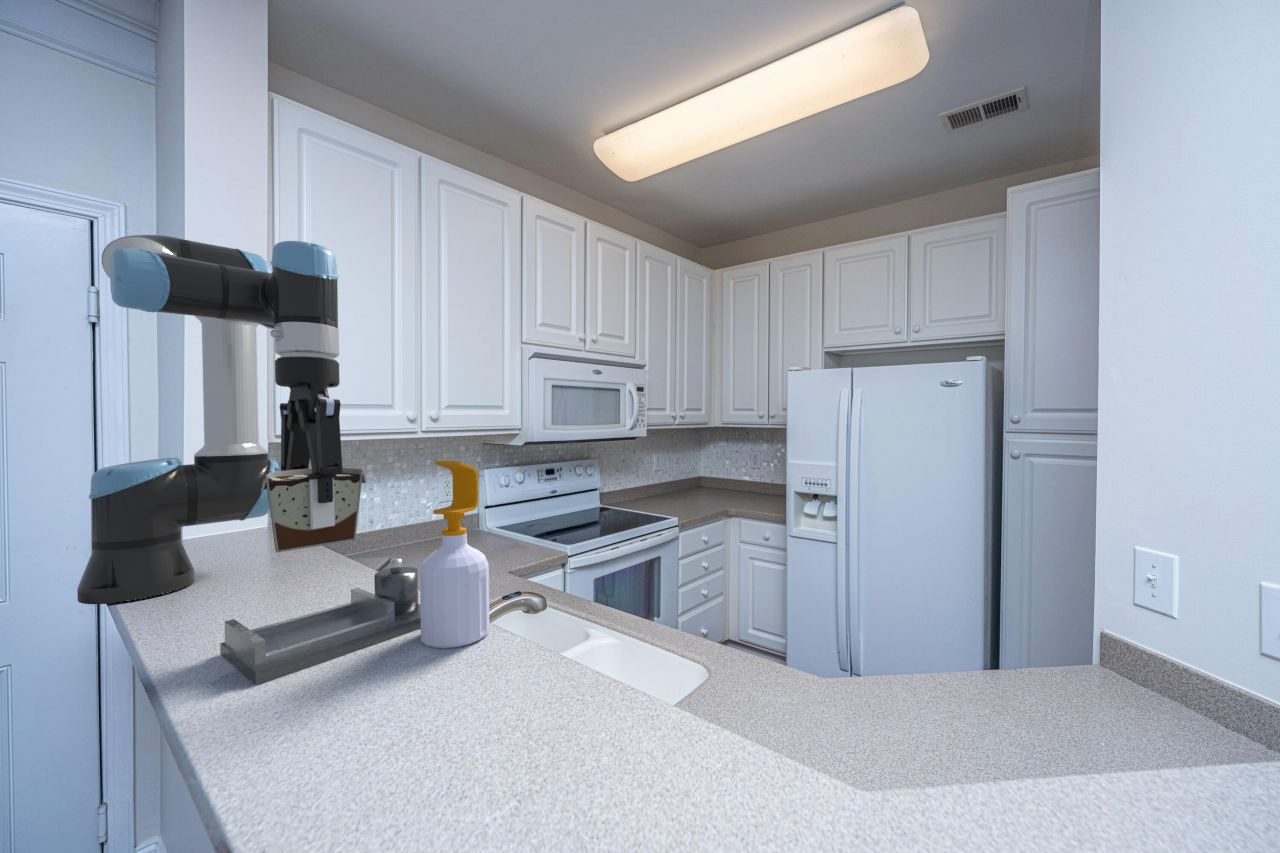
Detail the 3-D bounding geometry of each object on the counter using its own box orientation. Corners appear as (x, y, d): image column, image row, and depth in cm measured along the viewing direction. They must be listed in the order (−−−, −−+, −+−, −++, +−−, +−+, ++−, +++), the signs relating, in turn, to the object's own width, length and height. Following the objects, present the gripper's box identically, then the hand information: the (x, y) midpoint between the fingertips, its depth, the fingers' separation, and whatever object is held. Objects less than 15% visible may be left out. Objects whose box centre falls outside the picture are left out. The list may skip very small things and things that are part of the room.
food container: (352, 531, 79) (352, 465, 79) (366, 538, 75) (366, 469, 74) (252, 545, 70) (251, 471, 70) (262, 554, 66) (261, 476, 65)
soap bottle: (405, 645, 70) (403, 462, 69) (449, 620, 78) (447, 457, 78) (463, 653, 67) (460, 463, 67) (501, 626, 76) (499, 458, 75)
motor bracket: (220, 654, 67) (219, 585, 67) (394, 603, 86) (393, 549, 85) (256, 685, 59) (254, 606, 59) (439, 621, 78) (438, 561, 78)
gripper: (250, 362, 75) (254, 522, 75) (307, 347, 63) (311, 537, 63) (308, 366, 81) (311, 514, 81) (369, 353, 69) (373, 526, 69)
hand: (311, 524), depth 72 cm, fingers closed on food container, 6 cm apart
